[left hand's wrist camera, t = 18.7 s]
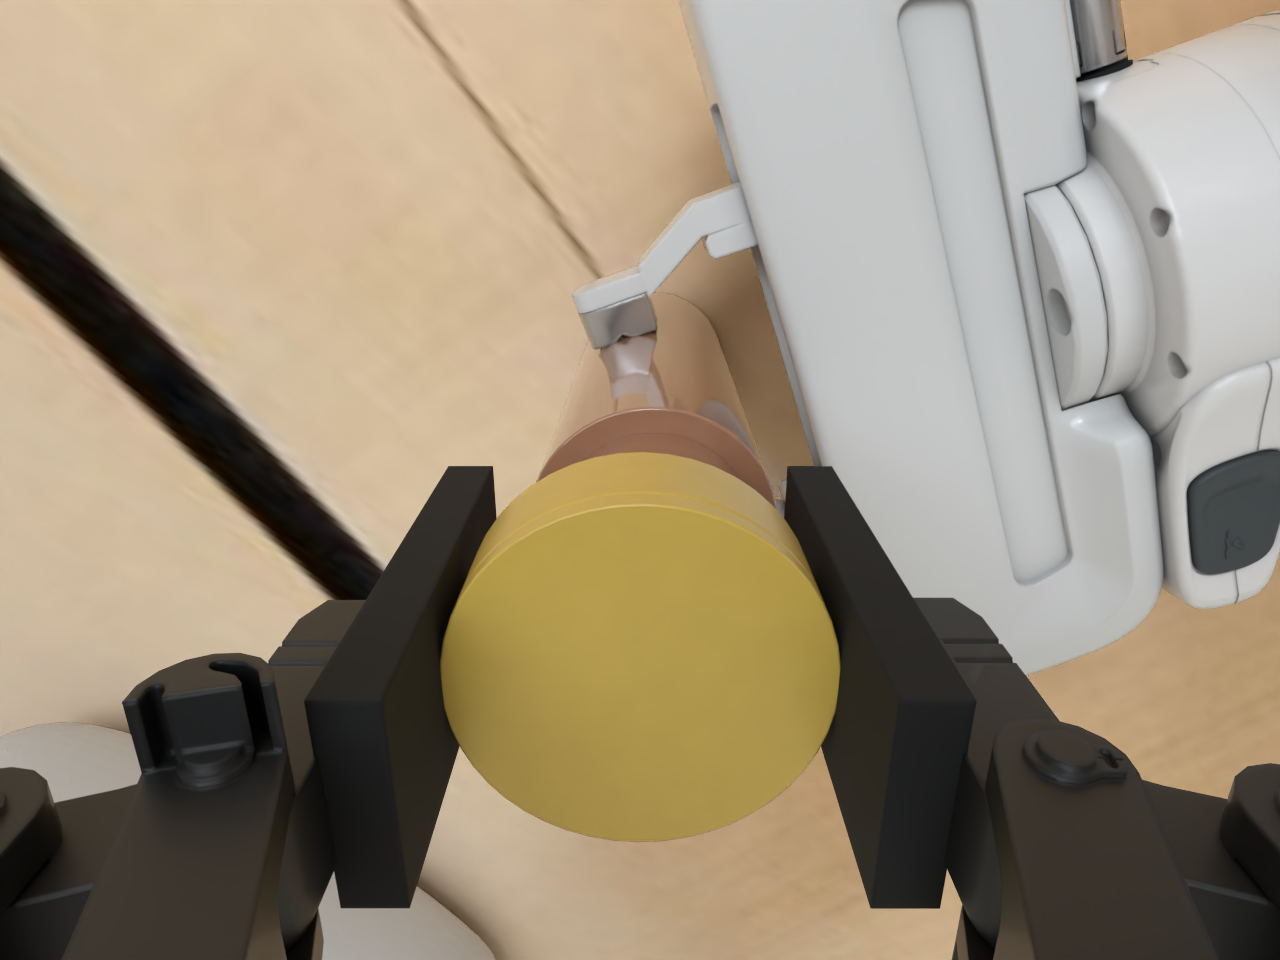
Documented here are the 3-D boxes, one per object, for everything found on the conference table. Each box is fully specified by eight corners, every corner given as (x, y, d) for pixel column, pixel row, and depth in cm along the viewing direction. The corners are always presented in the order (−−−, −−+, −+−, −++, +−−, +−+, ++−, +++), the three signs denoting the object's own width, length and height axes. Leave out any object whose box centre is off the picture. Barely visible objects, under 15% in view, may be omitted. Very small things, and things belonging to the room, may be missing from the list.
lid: (746, 396, 11) (767, 440, 9) (854, 693, 13) (889, 778, 11) (406, 523, 12) (366, 589, 10) (552, 790, 13) (539, 884, 12)
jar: (691, 442, 29) (728, 715, 15) (568, 399, 29) (482, 637, 14) (741, 319, 27) (836, 492, 13) (612, 271, 27) (564, 395, 13)
